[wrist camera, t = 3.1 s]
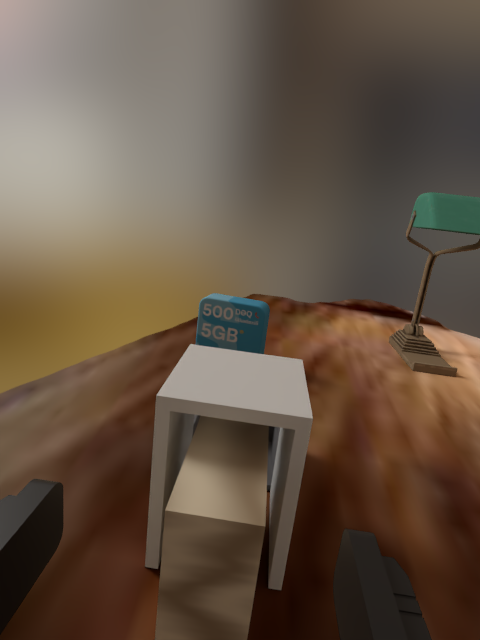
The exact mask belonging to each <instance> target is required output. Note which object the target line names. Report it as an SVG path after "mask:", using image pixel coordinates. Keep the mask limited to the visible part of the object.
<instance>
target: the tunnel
mask: <svg viewBox="0 0 480 640" xmlns="http://www.w3.org/2000/svg"><path fill="white" fill-rule="evenodd" d="M194 415H200V416H207V417H213V418H220V419H227V420H233V421H240V422H247V423H253V424H260V425H267V426H273V427H280V432H279V439H278V445H277V451H276V457H275V463H274V470H273V476H272V482H271V488H270V520H269V567H268V588H270V589H276V590H281V589H282V584H283V578H284V573H285V567H286V562H287V556H288V551H289V546H290V540H291V535H292V529H293V524H294V518H295V513H296V508H297V502H298V497H299V491H300V486H301V480H302V475H303V470H304V464H305V459H306V453H307V448H308V442H309V437H310V431H311V426H312V421H313V417H312V411H311V406H310V400H309V395H308V389H307V384H306V378H305V372H304V367H303V361H302V360H300V359H293V358H286V357H279V356H272V355H264V354H257V353H250V352H243V351H236V350H229V349H222V348H215V347H207V346H200V345H193V344H190V346H189V347H188V349H187V350H186V352H185V353H184V355H183V356H182V358H181V359H180V361H179V362H178V364H177V365H176V367H175V368H174V370H173V371H172V373H171V374H170V376H169V377H168V379H167V380H166V382H165V383H164V385H163V386H162V388H161V389H160V391H159V392H158V394H157V395H156V410H155V425H154V440H153V455H152V470H151V485H150V500H149V515H148V530H147V545H146V560H145V567H148V568H154V569H158V567H159V564H160V561H161V557H162V544H163V532H164V519H165V509H166V507H167V504H168V501H169V499H170V496H171V493H172V491H173V488H174V485H175V483H176V480H177V477H178V475H179V472H180V469H181V467H182V464H183V462H184V459H185V456H186V454H187V451H188V448H189V446H190V443H191V440H192V435H193V425H194Z"/></svg>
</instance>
